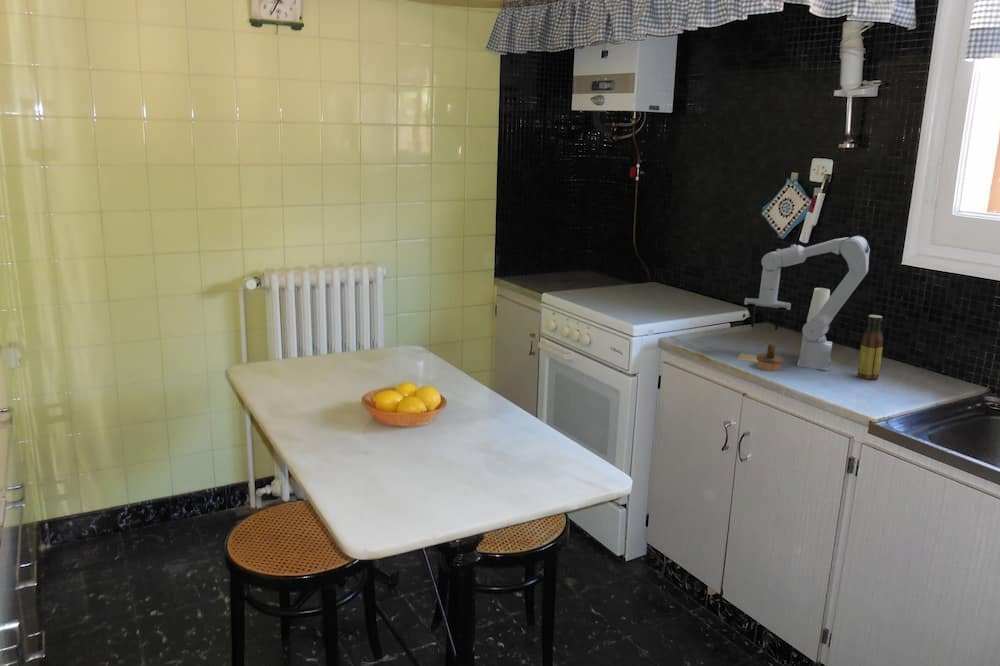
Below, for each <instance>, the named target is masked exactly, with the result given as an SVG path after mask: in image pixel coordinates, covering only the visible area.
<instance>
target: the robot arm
mask: <svg viewBox="0 0 1000 666" xmlns="http://www.w3.org/2000/svg"><path fill="white" fill-rule="evenodd" d="M870 252H871V249H870V246H869V243H868V241H867V239H866V238H865V237H863V236H861V235H854V236H851V237H841V238H834V239H830V240H828V241H825V242H820V243H817V244H813V245H810V246H806V247H804V246H802V245H800V244H798V245H797V244H795V243H794V244H791V245H790V247H787V248H782V249H781V248H776V250H775V251H770V252H768V253H766V254H764V256H762V258H761V262H760V263H761V265H762V272H761V279H760V280H761V281H760V287H759V296H758V298H754V297H753V298H752V297H751V298H749V297H745V298H744V304H743V305H747V306H746V307H747V311H748V314H749V318H750V327H751V328H754V327H755V321H756V318H755V317H756V316H755V315H756V309H757V307H758V306H759V307H765V308H766V307H767V308H775V309H777V316H776V322H775V326H774V330H775V331H777V330H778V329H779V326H780V322H781V321H782V319H783V316H784V315H785V313H786V312H787V310H789V311H790V310H791V306H792V304H791V302H785V301H781V300H778V294H779V287H780V280H781V269H782V267H784V268H785V267H789V266H793V265H798V264H802V263H804V262H805V261H806V260H807V258H809V257H813V256H817V255H821V254H828V253H833V254H835V255H841V256H842V257H843V259H845V261H846V263H847V267H848V272H847V273H846V275H845V276H844V277H843V279H842V280H841V282H840V283H839V284H838V285H837V286H836V288H835V289H834V291H833V292H832V294H830V298H829V299H828V300H827V302H826V303H825V304H824V306H823V307H822V308H821V310H820V311H819V312H818V313H817V314H816V315H815V317H814V318H813V319H812V320H811V321H810V322H808V323H807V322H806V323H805V324H803V326H802V328H801V329H802V330H801V333H802V338H801V339H802V340H801V346H800V353H799V358H798V361H797V362H796V363H797V364H796V366H798V367H803V368H804V367H805V368H810V369H816V370H820V371H829V367H830V365H831V361H832V358H831V355H832V347H833V341H830V340H829V341H828V340H827V337H826V334H827V333H828V332H829V330H830V324H831V323H832V321H833V319H834V318H835V317H836V315H837V313H838V312H839V311H840V310H841V308H842V307H843V306H844V304H845V303H846V302H847V300H848V299H849V298H850V296H851V295H852V294H853V292H854V291H855V290H856V289H857V287H858V286H859V285H860V283H861V282H862V280H863V279H864V278H865V277H866V275H867V274H868V272H869V265H870V260H869V259H870Z"/></svg>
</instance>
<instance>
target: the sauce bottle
mask: <svg viewBox="0 0 1000 666" xmlns="http://www.w3.org/2000/svg"><path fill="white" fill-rule="evenodd" d="M867 317H868V318H867V326H866V330H865V332H864V334H863V335H862V338H861V341H860V342H861V343H860V350H859V351H860V352H859V357H858V364H857V365H858V366H857V371H858V372H857V376H858V377H860V378H862V379H864V380H871V381H872V380H877V379H879V376H880V375H879V374H880V372H881V362H882V357H883V356H882V355H883V348H884V347H883V343H884V336H883V333H882V331H881V330H882V329H881V327H882V322H883V316H882V315H878V314H869V315H868V316H867Z"/></svg>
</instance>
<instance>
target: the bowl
mask: <svg viewBox="0 0 1000 666" xmlns="http://www.w3.org/2000/svg"><path fill="white" fill-rule="evenodd" d="M756 363H757V365H756V368H758V369H760V370H763V371H770V372H777V371H781V369H782V363H779V364H771V363H765V362H761V361H759V360H758V362H756Z"/></svg>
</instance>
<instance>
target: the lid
mask: <svg viewBox="0 0 1000 666" xmlns="http://www.w3.org/2000/svg"><path fill="white" fill-rule="evenodd" d="M775 350H776V345H775V344H767V351H766V353H758V354H756V359H757V360H759V361H761V362H765V363H771V364H779V363H781V364H784V362H785V358H784V357H783V356H781V355H779V354H778V355H777V354H775Z"/></svg>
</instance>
